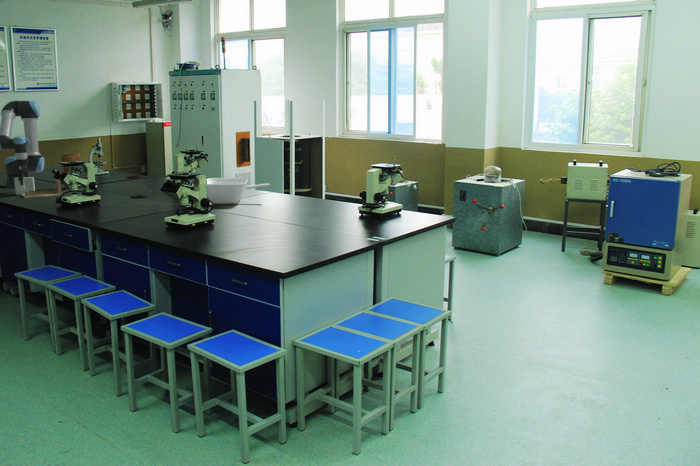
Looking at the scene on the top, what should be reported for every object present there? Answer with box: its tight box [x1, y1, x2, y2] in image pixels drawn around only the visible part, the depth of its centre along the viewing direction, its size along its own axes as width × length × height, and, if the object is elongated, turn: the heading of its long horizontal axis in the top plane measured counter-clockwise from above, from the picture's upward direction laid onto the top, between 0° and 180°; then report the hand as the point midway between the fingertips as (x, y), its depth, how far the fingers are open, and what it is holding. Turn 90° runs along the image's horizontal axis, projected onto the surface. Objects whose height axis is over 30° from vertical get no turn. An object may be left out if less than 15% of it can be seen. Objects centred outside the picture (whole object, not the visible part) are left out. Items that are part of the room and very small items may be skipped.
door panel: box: [14, 176, 36, 196], centre depth 430 cm, size 3×12×12 cm, turn 105°
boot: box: [60, 152, 81, 190], centre depth 458 cm, size 25×9×27 cm, turn 134°
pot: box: [205, 177, 270, 205], centre depth 411 cm, size 29×44×15 cm, turn 92°
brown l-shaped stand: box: [21, 169, 63, 199], centre depth 426 cm, size 12×24×17 cm, turn 126°
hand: (25, 188), depth 430 cm, fingers open, 13 cm apart
